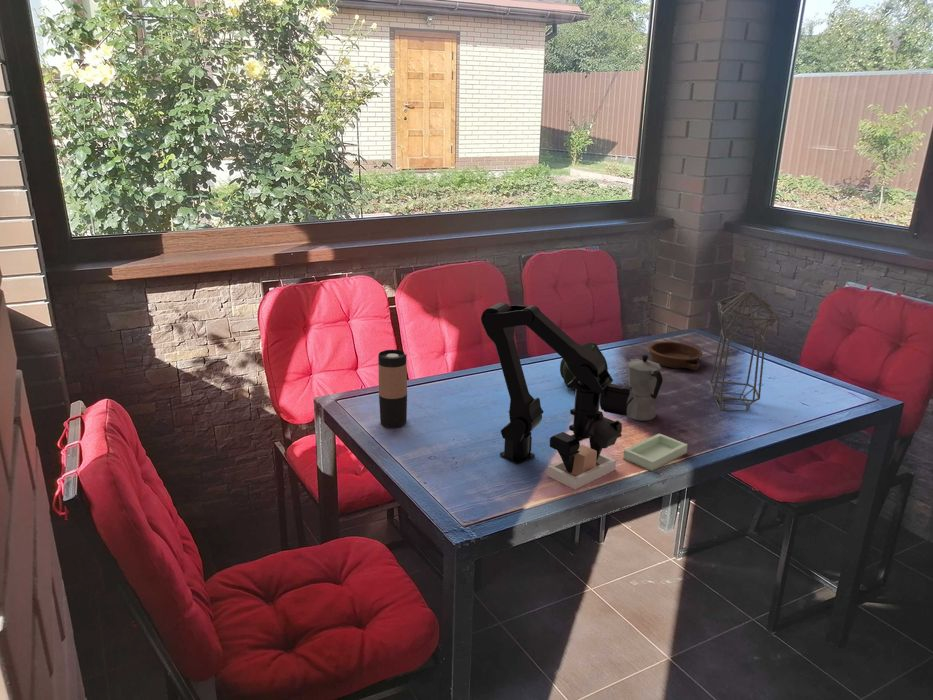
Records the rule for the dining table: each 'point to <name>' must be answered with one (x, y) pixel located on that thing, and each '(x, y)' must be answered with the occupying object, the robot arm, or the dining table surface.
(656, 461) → the green bin
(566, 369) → the squash
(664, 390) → the dining table surface
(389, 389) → the travel mug
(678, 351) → the dish
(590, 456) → the tan block
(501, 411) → the dining table surface
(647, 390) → the coffeepot
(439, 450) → the dining table surface
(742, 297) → the geometric lantern
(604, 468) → the grey bin
